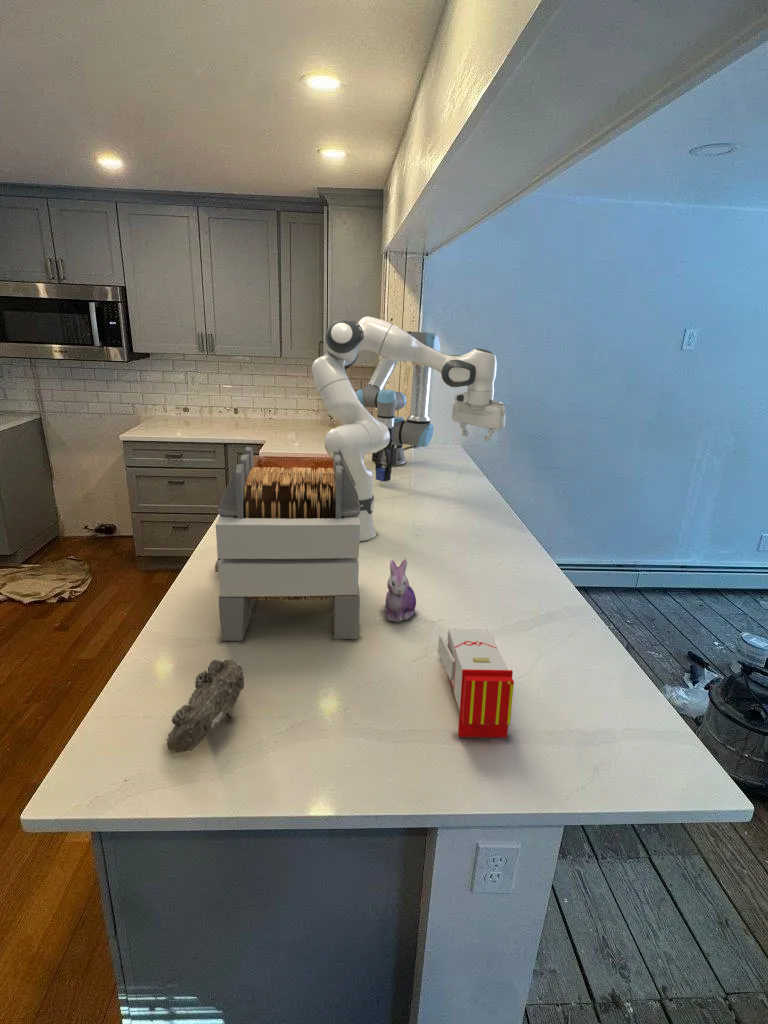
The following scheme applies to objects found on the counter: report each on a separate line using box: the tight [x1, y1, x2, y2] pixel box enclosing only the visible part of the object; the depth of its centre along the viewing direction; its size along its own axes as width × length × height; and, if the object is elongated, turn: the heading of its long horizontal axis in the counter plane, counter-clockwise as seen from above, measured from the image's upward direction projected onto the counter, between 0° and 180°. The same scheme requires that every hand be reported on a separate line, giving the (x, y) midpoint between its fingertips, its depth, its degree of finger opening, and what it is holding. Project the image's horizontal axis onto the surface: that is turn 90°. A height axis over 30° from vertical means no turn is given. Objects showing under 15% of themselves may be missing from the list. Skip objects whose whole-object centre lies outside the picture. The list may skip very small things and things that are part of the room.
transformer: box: [215, 446, 361, 642], centre depth 142 cm, size 34×33×41 cm
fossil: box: [166, 658, 245, 754], centre depth 106 cm, size 22×10×15 cm
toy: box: [437, 628, 515, 738], centre depth 117 cm, size 12×13×30 cm
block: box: [375, 466, 392, 482], centre depth 250 cm, size 5×5×5 cm
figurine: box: [384, 558, 417, 623], centre depth 145 cm, size 9×10×15 cm
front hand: (475, 438), depth 197 cm, fingers open, 8 cm apart
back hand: (382, 479), depth 251 cm, fingers closed on block, 5 cm apart
